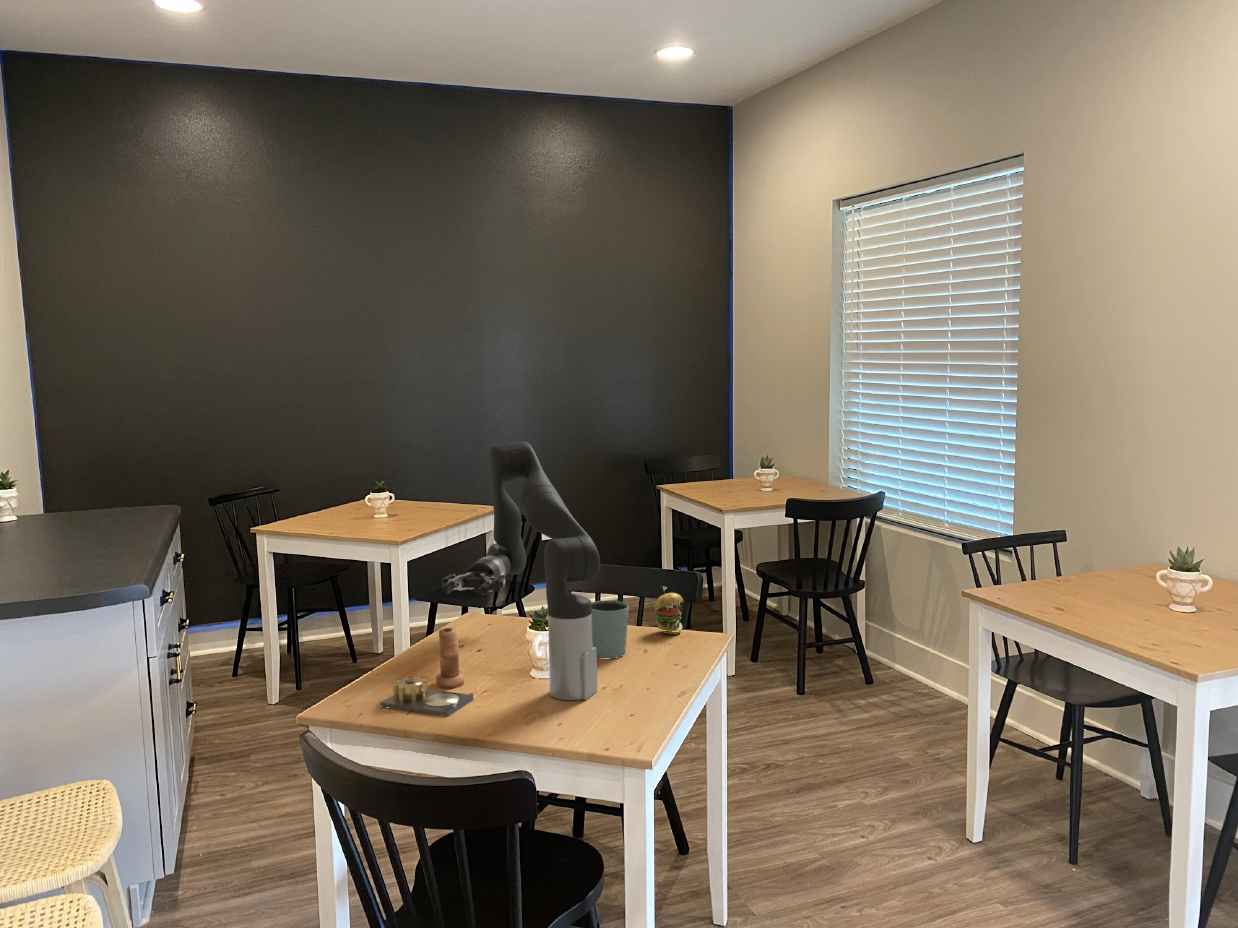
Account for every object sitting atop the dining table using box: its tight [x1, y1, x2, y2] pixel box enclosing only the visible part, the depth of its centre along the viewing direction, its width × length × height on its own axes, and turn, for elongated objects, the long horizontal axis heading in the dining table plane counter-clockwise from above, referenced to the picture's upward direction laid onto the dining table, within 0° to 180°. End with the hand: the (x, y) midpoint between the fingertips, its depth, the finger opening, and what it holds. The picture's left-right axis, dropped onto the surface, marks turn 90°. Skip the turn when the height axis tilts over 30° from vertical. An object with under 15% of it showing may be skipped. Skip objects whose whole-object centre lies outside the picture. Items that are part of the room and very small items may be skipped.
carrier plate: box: [379, 688, 474, 717], centre depth 188 cm, size 16×10×1 cm, turn 69°
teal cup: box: [591, 600, 630, 659], centre depth 219 cm, size 10×10×12 cm
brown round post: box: [435, 627, 465, 690], centre depth 200 cm, size 6×6×12 cm
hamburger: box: [654, 585, 684, 635], centre depth 237 cm, size 8×7×12 cm
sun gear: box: [392, 676, 428, 702], centre depth 190 cm, size 7×7×3 cm
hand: (463, 590), depth 209 cm, fingers open, 8 cm apart
